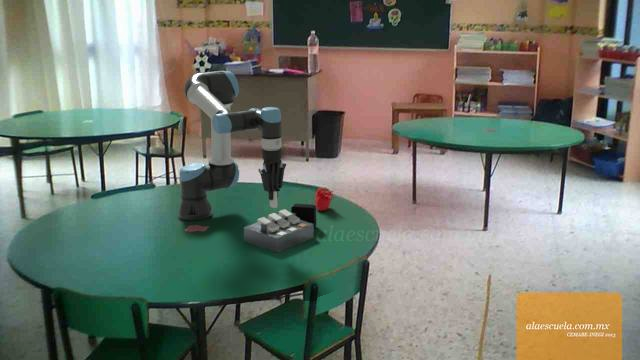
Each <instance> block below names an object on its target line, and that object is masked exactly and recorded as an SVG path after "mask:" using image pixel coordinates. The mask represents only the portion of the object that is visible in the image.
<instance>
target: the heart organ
mask: <svg viewBox="0 0 640 360" xmlns="http://www.w3.org/2000/svg"><path fill="white" fill-rule="evenodd" d="M334 196H335V197H336V194H334V191H333V190H329V189H328V190H327V188H326V187H323V186H322V187H319V188H317V190H316V191H315V192H314V199H315V200H314V205H316V210H318V211H320V212H321V211H323V212H324V211H326V210H328V209H329V208H330V207H331V203H332V201H333V199H335V197H334Z"/></svg>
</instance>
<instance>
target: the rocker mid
mask: <svg viewBox="0 0 640 360" xmlns="http://www.w3.org/2000/svg"><path fill="white" fill-rule="evenodd" d="M267 219H270V220H272V219H274V220H277V225H279V226H280V227H282V228H286V227H288V226H289V224H290V223H289V222H288V221H287V220H285V219H284V218H282V217H280V216H279V215H278V214H277V213H275V212H273V213H270V214H268V216H267Z"/></svg>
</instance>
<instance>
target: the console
mask: <svg viewBox="0 0 640 360" xmlns="http://www.w3.org/2000/svg"><path fill="white" fill-rule="evenodd" d="M292 214H293V215H295V216H296V214H295V213H292ZM279 216H280V215H279ZM280 217H282V218H284V219H285V220H287V221H288V217H287V216H284V215H283V216H280ZM267 219H268V218H267ZM268 220H270V219H268ZM270 221H271V222H273V223H275V224H277V220H274V219H272V220H270ZM288 222H289V221H288ZM289 223H290V224H289V226H288V227H286V228H282V227H280V226H279V225H278V226H279V230H277V231H275V232H271V231H270V230H268V229H267V227H266V224H263V223H262V224H261V225H260V224H259V223H257V222H254V223H251V224H250V225H246V226H244V227H243V237H244V239H243V241H244V242H246V243H249V244H250V245H254V246H258V247H260V248H263V249H266V250H268V251H271V252H274V253H277V254H278V253H281V252H283V251H285V250H287V249H290V248H293V247H295V246H297V245H300V244H302V243H304V242H307V241H309V240H312V239H314V238H313V237H315V236H314V234H315V233H314V232H315V229H314V224H312V223H309V222H306V221H302V220H300V221H299V223H296V224H292V223H291V222H289Z"/></svg>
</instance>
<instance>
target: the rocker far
mask: <svg viewBox="0 0 640 360" xmlns="http://www.w3.org/2000/svg"><path fill="white" fill-rule="evenodd" d="M277 215H280V216H283V215H284V216H287V217H288V221H289V222H291V223H292V224H296V223H299V221H300V218H298V217H297V216H295V215H293V214H292V213H291V212H290V211H288V210H287V209H285V208H284V209H281V210H278V214H277Z"/></svg>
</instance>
